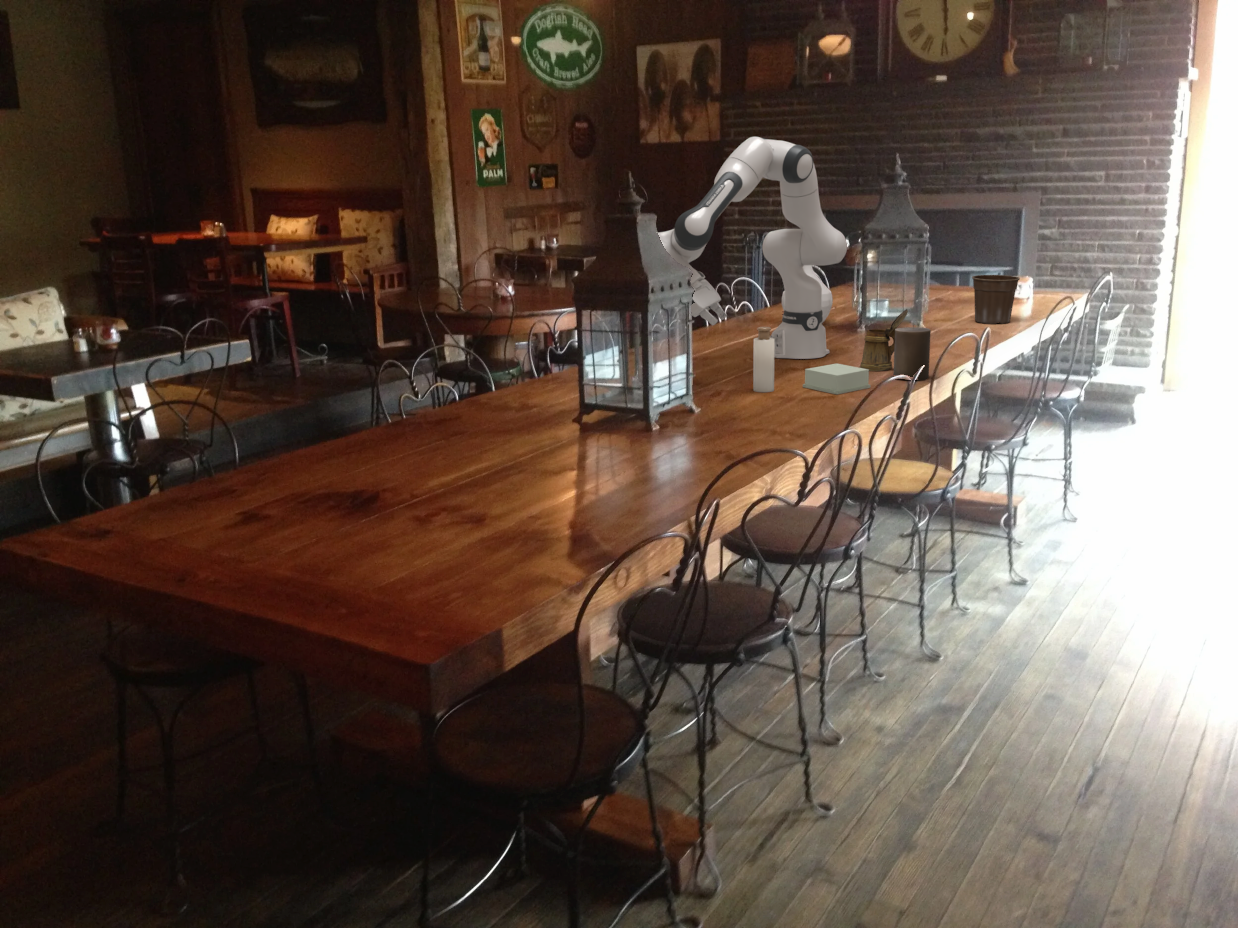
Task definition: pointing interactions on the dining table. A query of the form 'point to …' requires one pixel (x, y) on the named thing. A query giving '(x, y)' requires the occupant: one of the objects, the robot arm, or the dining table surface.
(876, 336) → the wooden mug
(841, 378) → the plinth
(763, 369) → the stoneware bottle
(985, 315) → the plant pot
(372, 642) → the dining table surface
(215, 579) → the dining table surface
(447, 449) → the dining table surface
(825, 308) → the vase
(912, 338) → the pillar candle
